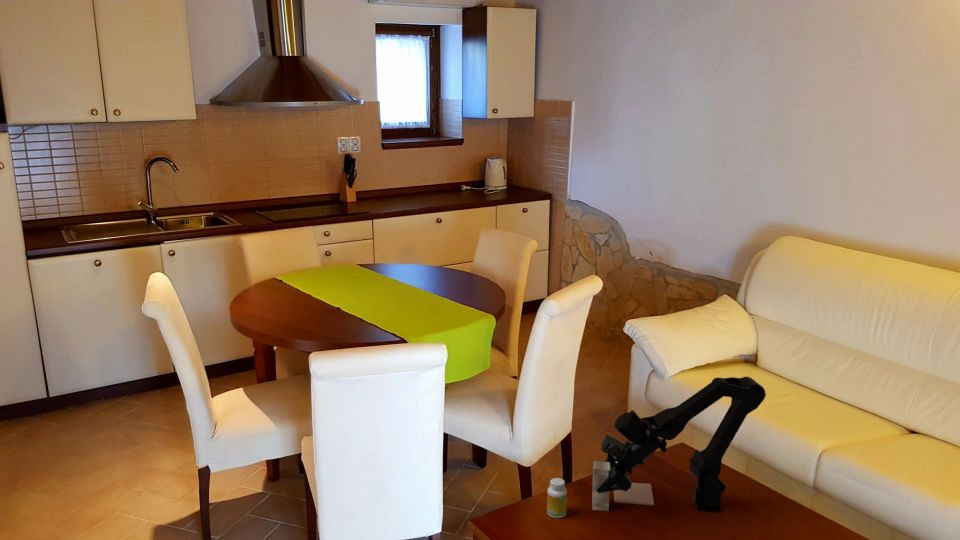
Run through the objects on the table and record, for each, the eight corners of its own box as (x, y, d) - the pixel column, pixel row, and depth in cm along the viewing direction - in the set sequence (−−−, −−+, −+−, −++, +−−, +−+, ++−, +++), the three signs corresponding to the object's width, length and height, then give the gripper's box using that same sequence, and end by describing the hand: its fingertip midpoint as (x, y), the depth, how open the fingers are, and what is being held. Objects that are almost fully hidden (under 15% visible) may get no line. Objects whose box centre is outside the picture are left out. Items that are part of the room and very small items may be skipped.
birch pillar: (608, 502, 205) (609, 462, 203) (608, 511, 201) (610, 470, 198) (592, 501, 206) (593, 461, 203) (592, 509, 202) (593, 468, 199)
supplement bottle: (560, 521, 196) (560, 488, 194) (543, 514, 199) (543, 482, 197) (570, 512, 200) (571, 480, 198) (553, 506, 204) (554, 474, 202)
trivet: (650, 485, 214) (650, 484, 214) (653, 505, 204) (654, 503, 204) (613, 482, 216) (613, 481, 216) (614, 502, 205) (614, 500, 205)
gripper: (617, 415, 207) (577, 448, 211) (620, 444, 189) (576, 479, 193) (644, 442, 207) (604, 474, 211) (649, 474, 189) (605, 508, 193)
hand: (597, 483), depth 202 cm, fingers open, 9 cm apart
